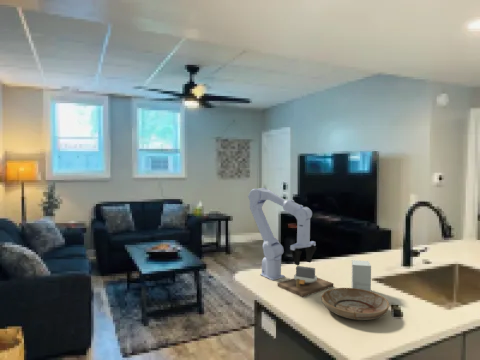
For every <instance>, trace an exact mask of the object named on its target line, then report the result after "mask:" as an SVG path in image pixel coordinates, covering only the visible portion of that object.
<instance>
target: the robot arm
mask: <svg viewBox="0 0 480 360" xmlns="http://www.w3.org/2000/svg"><path fill="white" fill-rule="evenodd" d="M247 198H248V200H249V209H250V213H251V214H252V217H253V219H254V221H255V223H256V226H257V230H258V231H259V234H260V236H261V238H262V240H263V242H262V250H263V256H264V257H263V258H262V260H261V273H260V276H262V277H264V278H267V279H269V280H270V281H275V280H278V279H282V278H286V277H285V275H283V274H282V255H283V254H284V252H285V251H284V246H283V245H282V244H281V243H280V242H279V241H280V240H279V239H278V238H275V236H274V235H273V232H272V229H271V226H270V225H269V223H268V220H267V217H266V215H265V213H264V210H263V205H264V203H265V202H267V201H271V202H273V203H274V204H277V205H278V206H281V207H282V209H283V211H285V212H286V213H288V214H290V215H291V216H294V217H295V219H296V223H297V226H296V227H297V231H296V232H297V233H296V243H293V244H291V245H289V246H290V247H289V252H290V253H291V255H292V257H293V261H294V265H296V266H300V264H301V263H300V261H301V260H300V259H301V255H302V252H303V251H301V250H300V249H304V251H305V259H306V262H307V263H311V262H312V259H313V256H314V253H315V252H316V251H317V247H316V245H317V244H316V241H314V240H311V241H310V239H311V218H312V216H313V211H312V210H311V209H310V208H309V207H308V206H304V205H302V204H299V203H297V202H295V200H294V199H287V200H286V199H284V198H283V197H281V196H279V195H278V194H277V193H275V192H273V191H272V190H271V189H268V188H267V187H260V188H252V189H251V190H250V191H249V192H248V195H247Z"/></svg>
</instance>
